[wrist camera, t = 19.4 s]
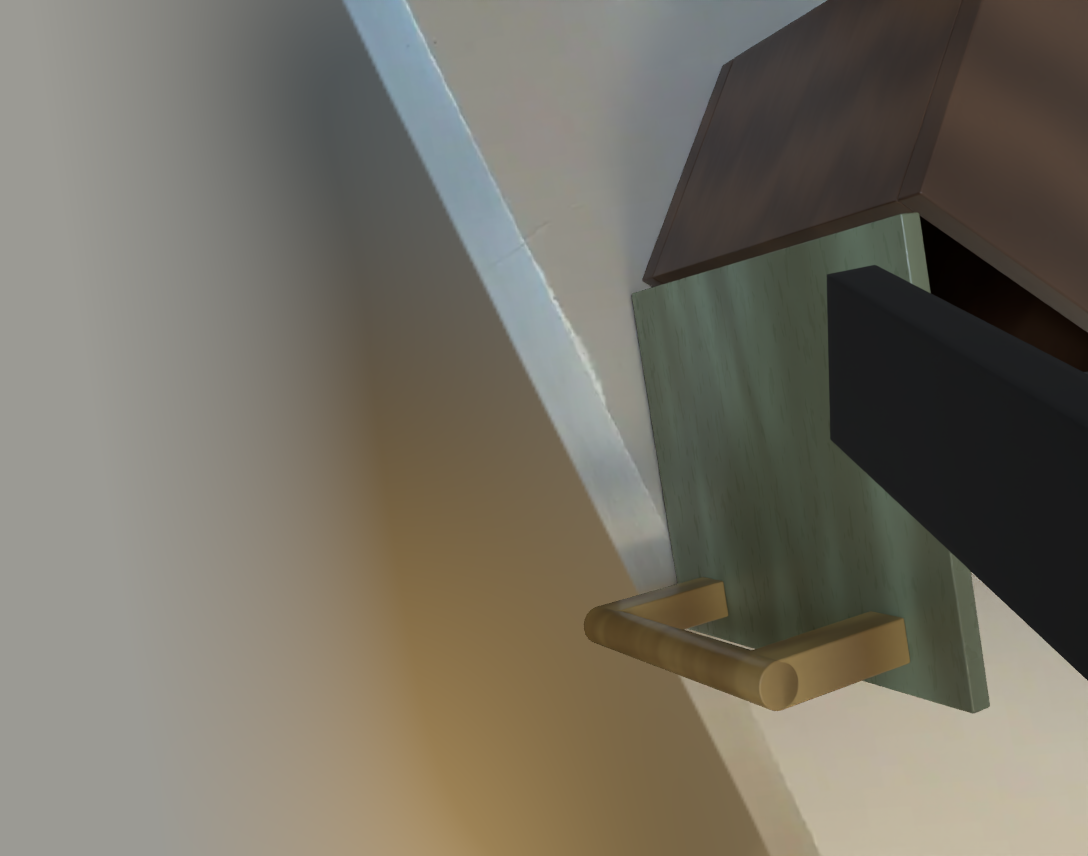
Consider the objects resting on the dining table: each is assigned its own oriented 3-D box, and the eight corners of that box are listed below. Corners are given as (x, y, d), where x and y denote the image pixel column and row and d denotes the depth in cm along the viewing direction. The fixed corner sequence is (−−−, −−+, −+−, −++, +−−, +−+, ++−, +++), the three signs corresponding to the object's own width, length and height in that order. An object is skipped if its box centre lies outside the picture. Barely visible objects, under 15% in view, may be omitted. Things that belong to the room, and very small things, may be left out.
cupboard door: (566, 664, 43) (820, 777, 28) (508, 309, 43) (736, 230, 27) (698, 624, 46) (991, 707, 31) (645, 291, 45) (920, 211, 30)
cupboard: (880, 417, 52) (1215, 402, 36) (641, 280, 46) (920, 192, 30) (942, 220, 54) (1282, 126, 38) (722, 64, 48) (1020, -120, 32)
